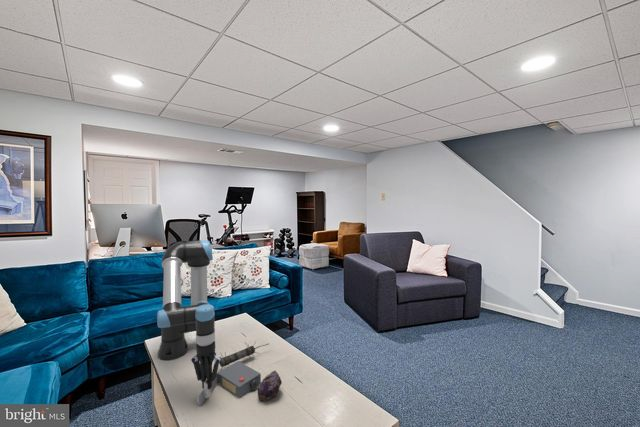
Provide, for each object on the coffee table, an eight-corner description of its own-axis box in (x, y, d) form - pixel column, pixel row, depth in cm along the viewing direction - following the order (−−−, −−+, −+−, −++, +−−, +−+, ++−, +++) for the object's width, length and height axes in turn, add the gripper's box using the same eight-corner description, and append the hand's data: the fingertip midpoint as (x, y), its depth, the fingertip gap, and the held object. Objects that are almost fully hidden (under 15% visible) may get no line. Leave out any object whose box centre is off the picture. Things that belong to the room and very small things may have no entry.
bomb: (219, 351, 137) (270, 331, 158) (211, 354, 144) (261, 334, 165) (224, 375, 134) (276, 351, 154) (216, 377, 140) (266, 354, 161)
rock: (255, 401, 121) (274, 408, 117) (252, 384, 120) (271, 390, 115) (270, 381, 131) (288, 387, 127) (268, 365, 130) (286, 370, 126)
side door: (214, 382, 131) (214, 373, 131) (217, 383, 131) (217, 373, 131) (197, 405, 116) (197, 395, 116) (200, 406, 116) (200, 395, 116)
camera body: (216, 383, 131) (216, 371, 131) (238, 370, 141) (238, 359, 141) (241, 399, 120) (241, 386, 120) (263, 385, 130) (262, 373, 130)
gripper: (224, 338, 123) (225, 390, 123) (196, 337, 124) (198, 388, 125) (215, 347, 115) (217, 402, 116) (186, 345, 117) (188, 400, 118)
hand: (207, 395), depth 120 cm, fingers closed
